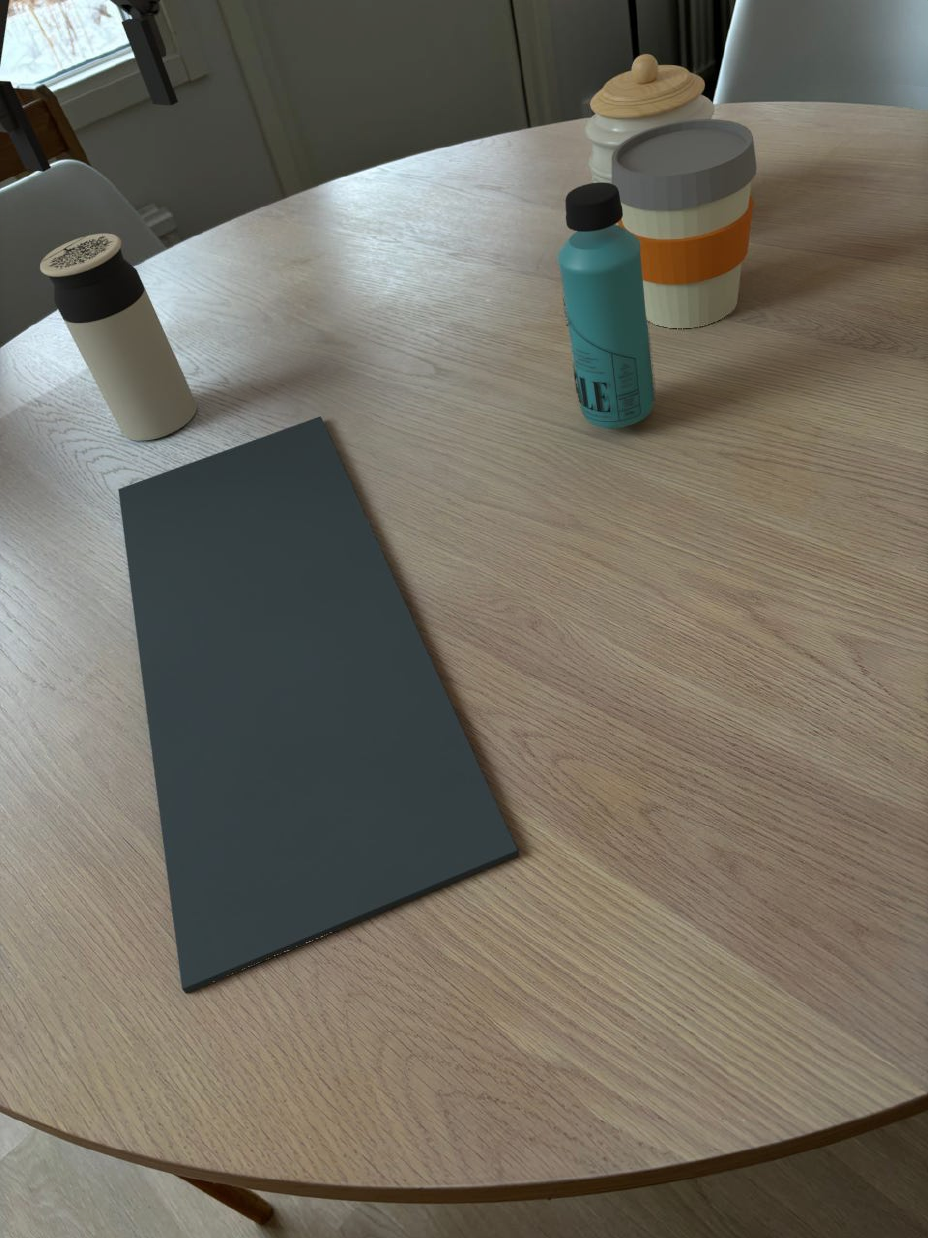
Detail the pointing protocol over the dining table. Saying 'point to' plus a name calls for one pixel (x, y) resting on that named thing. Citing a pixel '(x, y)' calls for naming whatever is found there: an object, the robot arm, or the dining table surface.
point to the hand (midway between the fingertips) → (104, 135)
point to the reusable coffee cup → (688, 215)
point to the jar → (641, 108)
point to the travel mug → (119, 336)
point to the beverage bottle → (606, 309)
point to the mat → (290, 708)
